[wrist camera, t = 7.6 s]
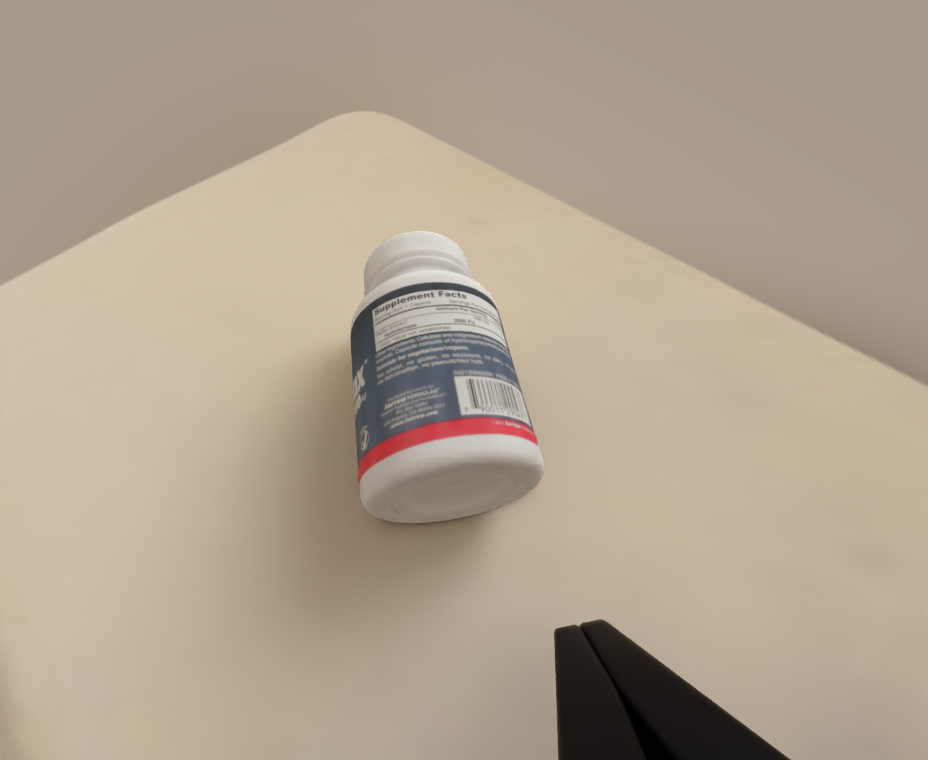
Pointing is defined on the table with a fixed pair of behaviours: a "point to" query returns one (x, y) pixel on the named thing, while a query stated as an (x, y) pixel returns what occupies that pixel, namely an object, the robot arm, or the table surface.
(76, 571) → the table surface
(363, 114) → the table surface
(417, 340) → the pill bottle
